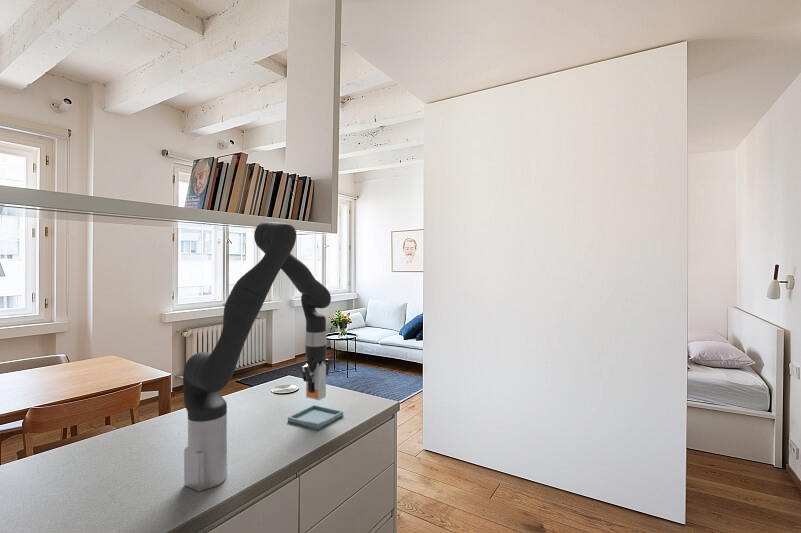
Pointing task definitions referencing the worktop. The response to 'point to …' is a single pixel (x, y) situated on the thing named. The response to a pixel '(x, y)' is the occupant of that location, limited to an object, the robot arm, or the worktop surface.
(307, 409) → the tray
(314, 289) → the robot arm
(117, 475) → the worktop surface
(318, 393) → the skincare box
